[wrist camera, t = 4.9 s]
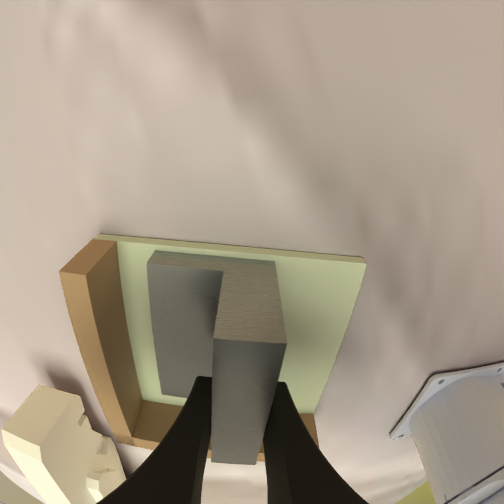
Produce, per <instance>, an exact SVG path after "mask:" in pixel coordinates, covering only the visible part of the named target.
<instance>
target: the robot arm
mask: <svg viewBox="0 0 504 504" xmlns="http://www.w3.org/2000/svg"><path fill="white" fill-rule="evenodd" d="M211 416H212V377H206V376H198V377H196V379H195V382H194V385H193V387H192V390H191V392H190V394H189V396H188V398H187V400H186V402H185V404H184V406H183V408H182V410H181V411H180V413H179V415H178V417H177V418H176V420H175V422H174V423H173V425H172V426H171V428H170V429H169V431H168V432H167V434H166V435H165V437H164V438H163V439H162V441H161V442H160V443H159V445H158V446H157V447H156V448H155V450H154V451H153V452H152V453H151V454H150V456H149V457H148V458H147V459H146V460H145V461H144V462H143V463H142V465H141V466H140V467H139V468H138V469H137V470H136V471H135V472H134V473H133V474H132V475H131V476H129V477H128V478H127V479H126V480H125V481H124V482H123V483H122V484H121V485H120V486H118V487H117V488H116V489H115V490H114V491H112V492H111V493H110V494H108V495H107V496H106V497H104V498H103V499H101V500H100V501H99V502H97V503H96V504H201V491H202V481H203V474H204V469H205V464H206V459H207V453H208V448H209V443H210V438H211ZM411 436H413V438H414V441H415V444H416V446H417V449H418V452H419V455H420V458H421V460H422V463H423V466H424V469H425V472H426V475H427V478H428V481H429V484H430V487H431V490H432V493H433V496H434V499H435V503H436V504H504V362H503V363H498V364H493V365H489V366H484V367H478V368H473V369H467V370H462V371H455V372H449V373H442V374H436V375H433V376H432V377H431V378H430V379H429V380H428V382H427V383H426V385H425V387H424V388H423V390H422V391H421V393H420V394H419V396H418V397H417V399H416V400H415V402H414V403H413V404H412V406H411V407H410V409H409V410H408V411H407V413H406V414H405V416H404V417H403V418H402V420H401V421H400V422H399V424H398V425H397V426H396V428H395V429H394V430H393V431H392V433H391V434H390V439H392V440H395V439H400V438H406V437H411ZM263 447H264V456H265V465H266V473H267V485H268V504H369V503H367V502H366V501H365V500H364V499H363V498H362V497H361V496H359V495H358V494H357V493H356V492H355V491H354V490H353V489H352V488H351V487H350V486H349V485H348V484H347V483H346V482H345V481H344V480H343V479H342V477H341V476H340V475H339V474H338V473H337V472H336V471H335V469H334V468H333V467H332V466H331V464H330V463H329V462H328V460H327V459H326V458H325V456H324V455H323V454H322V452H321V451H320V449H319V448H318V446H317V445H316V443H315V442H314V440H313V438H312V437H311V435H310V433H309V432H308V430H307V428H306V426H305V424H304V422H303V420H302V419H301V417H300V415H299V413H298V411H297V408H296V406H295V404H294V402H293V399H292V397H291V394H290V392H289V389H288V386H287V384H286V383H285V382H279V381H278V383H277V387H276V391H275V395H274V399H273V403H272V407H271V411H270V414H269V418H268V422H267V425H266V429H265V433H264V436H263ZM0 504H4V503H3V502H1V501H0Z"/></svg>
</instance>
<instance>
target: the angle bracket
mask: <svg viewBox="0 0 504 504" xmlns="http://www.w3.org/2000/svg"><path fill="white" fill-rule="evenodd" d="M146 264H147V279H148V291H149V303H150V313H151V322H152V331H153V339H154V347H155V355H156V362H157V369H158V375H159V381H160V387H161V393H162V395H168V396H174V397H182V398H188V396H189V394H190V392H191V390H192V387H193V385H194V382H195V379H196V377H198V376H206V377H212V416H211V462H216V463H228V464H245V465H255V464H256V461H257V457H258V454H259V450H260V447H261V443H262V440H263V436H264V433H265V429H266V425H267V422H268V418H269V414H270V411H271V407H272V403H273V399H274V395H275V391H276V387H277V383H278V379H279V375H280V371H281V367H282V363H283V359H284V355H285V351H286V346H287V339H286V332H285V325H284V318H283V311H282V305H281V298H280V291H279V285H278V278H277V272H276V265H275V261H268V260H256V259H245V258H234V257H223V256H212V255H201V254H190V253H180V252H169V251H158V250H155V251H154V252H153V254H152V255H151V257H150V258H149V260H148V262H147V263H146Z"/></svg>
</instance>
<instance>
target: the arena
mask: <svg viewBox="0 0 504 504" xmlns="http://www.w3.org/2000/svg"><path fill="white" fill-rule="evenodd" d="M155 250H158V251H169V252H180V253H190V254H201V255H212V256H223V257H234V258H245V259H256V260H268V261H275V265H276V272H277V278H278V285H279V291H280V298H281V305H282V311H283V318H284V325H285V332H286V339H287V346H286V351H285V355H284V359H283V363H282V367H281V371H280V375H279V379H278V381H279V382H285V383H286V384H287V386H288V389H289V392H290V394H291V397H292V399H293V402H294V404H295V406H296V408H297V411H298V413H299V415H300V417H301V419H302V420H303V422H304V424H305V426H306V428H307V430H308V432H309V433H310V435H311V437H312V438H313V440H314V442H315V443H316V445H317V446H318V448H319V444H318V438H317V432H316V426H315V420H314V414H313V413H314V411H315V409H316V406H317V404H318V402H319V399H320V397H321V395H322V392H323V390H324V388H325V385H326V383H327V380H328V378H329V375H330V373H331V370H332V367H333V365H334V362H335V360H336V357H337V354H338V352H339V349H340V346H341V343H342V341H343V338H344V335H345V332H346V329H347V326H348V323H349V321H350V318H351V315H352V312H353V308H354V305H355V302H356V299H357V296H358V293H359V289H360V286H361V283H362V279H363V276H364V273H365V269H366V266H367V263H366V262H365V260H364V259H363V258H362V257H351V256H340V255H330V254H319V253H308V252H298V251H287V250H276V249H265V248H254V247H243V246H232V245H221V244H210V243H199V242H187V241H176V240H165V239H153V238H142V237H130V236H118V235H107V234H98V235H97V236H96V237H95V238H94V239H92V240H91V241H90V242H89V243H88V244H87V245H86V246H85V247H84V248H83V249H82V250H81V251H80V252H78V253H77V254H76V255H75V256H74V257H73V258H72V259H71V260H70V261H69V262H68V263H67V264H66V265H65V266H64V267H63V268H62V269H61V270H60V271H59V273H60V278H61V283H62V287H63V292H64V296H65V300H66V304H67V308H68V312H69V316H70V319H71V323H72V326H73V330H74V333H75V336H76V340H77V343H78V346H79V349H80V352H81V355H82V358H83V361H84V364H85V367H86V370H87V372H88V375H89V378H90V380H91V383H92V386H93V388H94V391H95V393H96V396H97V398H98V401H99V403H100V405H101V408H102V410H103V412H104V415H105V417H106V419H107V421H108V423H109V426H110V428H111V430H112V432H113V434H114V436H115V438H116V440H117V442H119V443H123V444H127V445H132V446H136V447H141V448H146V449H151V450H155V448H156V447H157V446H158V445H159V443H160V442H161V441H162V439H163V438H164V437H165V435H166V434H167V432H168V431H169V429H170V428H171V426H172V425H173V423H174V422H175V420H176V418H177V417H178V415H179V413H180V411H181V410H182V408H183V406H184V404H185V402H186V400H187V398H182V397H174V396H168V395H162V393H161V387H160V381H159V375H158V369H157V362H156V355H155V347H154V339H153V331H152V322H151V313H150V303H149V291H148V279H147V264H146V263H147V262H148V260H149V258H150V257H151V255H152V254H153V252H154V251H155ZM207 458H211V438H210V443H209V448H208V453H207ZM257 461H265V456H264V447H263V440H262V443H261V447H260V450H259V454H258V457H257Z"/></svg>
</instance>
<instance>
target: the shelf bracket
mask: <svg viewBox="0 0 504 504" xmlns="http://www.w3.org/2000/svg"><path fill="white" fill-rule="evenodd" d="M84 411H85V409H84V406H83V403H82V400H81V397H80V396H79V395H75V394H71V393H67V392H64V391H60V390H57V389H53V388H50V387H47V386H44V385H40V384H39V385H38V386H37V387H36V389H35V390H34V391H33V392H32V393H31V394H30V396H29V397H28V398H27V399H26V400H25V401H24V403H23V404H22V405H21V406H20V407H19V409H18V410H17V411H16V412H15V413H14V415H13V416H12V417H11V418H10V419H9V421H8V422H7V423H6V424H5V426H4V427H3V428H2V434H3V441H4V445H5V446H6V448H7V449H8V451H9V453H10V454H11V456H12V457H13V459H14V460H15V462H16V463H17V465H18V466H19V467H20V469H21V470H22V472H23V473H24V475H25V476H26V477H27V479H28V480H29V481H30V483H31V484H32V485H33V487H34V488H35V489H36V490H37V492H38V493H39V494H40V495H41V497H42V498H43V499H44V500H45V501H46V503H47V504H96V503H97V502H99V501H100V500H101V499H103V498H104V497H106V496H107V495H108V494H110V493H111V492H112V491H114V490H115V489H116V488H117V487H118V486H120V485H121V484H122V483H123V482H124V481H125V480H126V477H125V474H124V471H123V468H122V465H121V461H120V458H119V455H118V452H117V450H116V447H115V445H114V443H113V441H112V439H111V438H110V437H107V436H103V435H102V434H100V433H97V432H95V431H93V430H92V428H91V426H90V423H89V420H88V418H87V416H85V415H82V414H83V413H84Z"/></svg>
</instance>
